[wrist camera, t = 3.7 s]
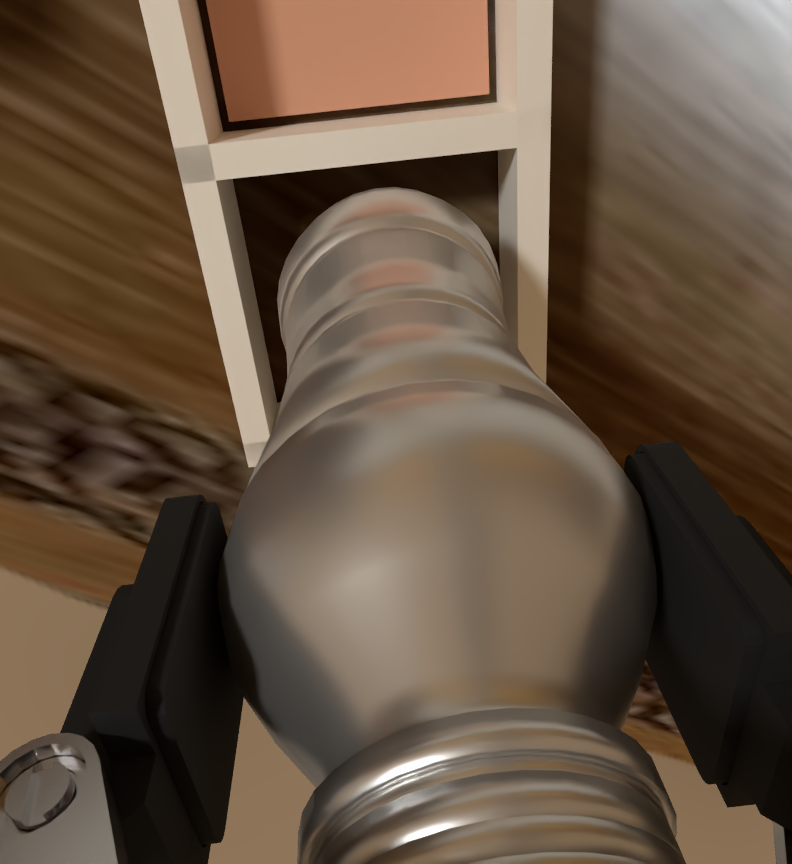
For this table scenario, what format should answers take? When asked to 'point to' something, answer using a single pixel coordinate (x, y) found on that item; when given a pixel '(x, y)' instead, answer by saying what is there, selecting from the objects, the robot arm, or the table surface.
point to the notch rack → (352, 135)
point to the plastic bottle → (439, 569)
